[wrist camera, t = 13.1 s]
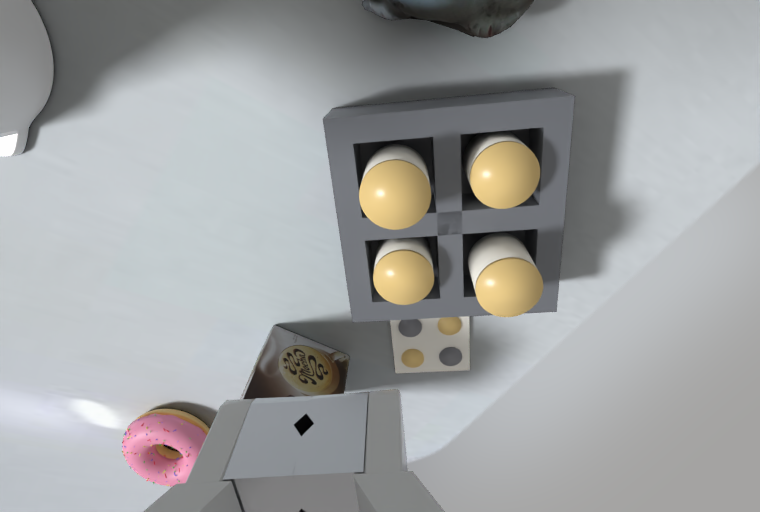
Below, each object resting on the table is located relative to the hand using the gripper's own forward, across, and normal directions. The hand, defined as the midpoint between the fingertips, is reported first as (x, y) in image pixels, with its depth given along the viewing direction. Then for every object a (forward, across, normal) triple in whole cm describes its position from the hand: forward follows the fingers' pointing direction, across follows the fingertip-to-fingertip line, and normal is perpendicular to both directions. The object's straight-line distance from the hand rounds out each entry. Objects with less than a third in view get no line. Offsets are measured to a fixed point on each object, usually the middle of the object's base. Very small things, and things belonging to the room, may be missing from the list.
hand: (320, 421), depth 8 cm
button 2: (+32, -2, +12) cm, 34 cm away
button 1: (+30, -2, +4) cm, 30 cm away
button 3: (+32, -10, +4) cm, 33 cm away
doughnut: (+35, +28, +36) cm, 57 cm away
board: (+34, -6, +8) cm, 35 cm away
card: (+34, -4, +23) cm, 41 cm away
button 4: (+29, -10, +12) cm, 33 cm away
